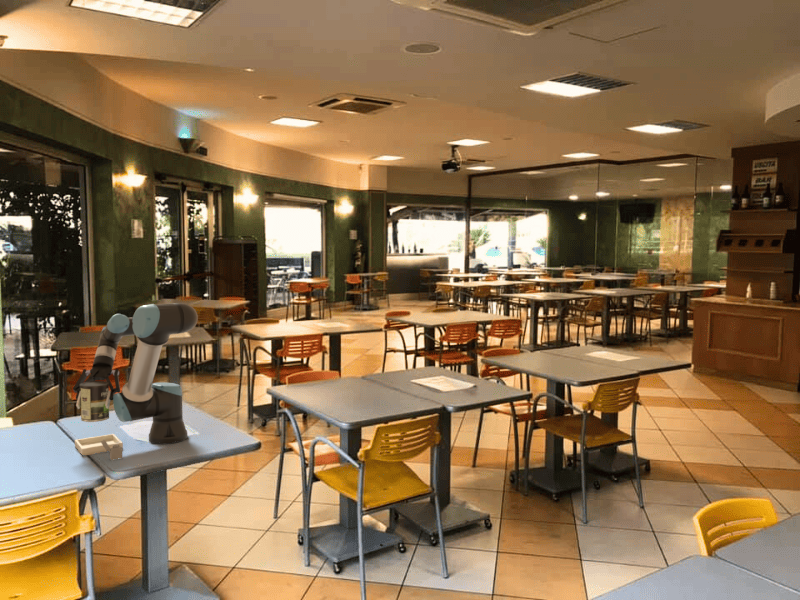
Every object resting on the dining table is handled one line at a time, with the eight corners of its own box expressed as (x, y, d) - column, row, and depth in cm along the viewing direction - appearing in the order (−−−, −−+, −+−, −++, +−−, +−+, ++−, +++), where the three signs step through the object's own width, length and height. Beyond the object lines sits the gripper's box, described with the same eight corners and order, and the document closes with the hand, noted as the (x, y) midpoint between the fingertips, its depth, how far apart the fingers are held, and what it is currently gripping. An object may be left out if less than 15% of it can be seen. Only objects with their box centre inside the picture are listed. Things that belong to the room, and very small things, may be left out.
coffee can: (113, 415, 269) (112, 380, 268) (103, 422, 259) (102, 386, 258) (87, 415, 269) (86, 380, 268) (76, 422, 259) (75, 386, 257)
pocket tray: (122, 449, 263) (122, 442, 263) (82, 455, 254) (82, 449, 254) (113, 440, 275) (113, 433, 275) (74, 446, 266) (74, 439, 266)
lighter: (121, 457, 253) (120, 436, 252) (122, 458, 252) (121, 437, 251) (101, 461, 249) (100, 440, 248) (102, 462, 247) (101, 441, 247)
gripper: (134, 364, 279) (124, 411, 265) (77, 364, 276) (64, 412, 262) (131, 354, 273) (120, 401, 259) (72, 354, 270) (58, 402, 256)
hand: (92, 406), depth 260 cm, fingers closed on coffee can, 10 cm apart
